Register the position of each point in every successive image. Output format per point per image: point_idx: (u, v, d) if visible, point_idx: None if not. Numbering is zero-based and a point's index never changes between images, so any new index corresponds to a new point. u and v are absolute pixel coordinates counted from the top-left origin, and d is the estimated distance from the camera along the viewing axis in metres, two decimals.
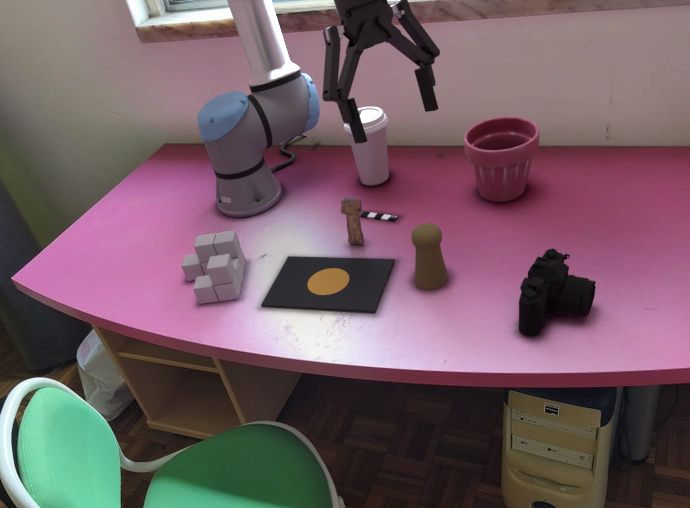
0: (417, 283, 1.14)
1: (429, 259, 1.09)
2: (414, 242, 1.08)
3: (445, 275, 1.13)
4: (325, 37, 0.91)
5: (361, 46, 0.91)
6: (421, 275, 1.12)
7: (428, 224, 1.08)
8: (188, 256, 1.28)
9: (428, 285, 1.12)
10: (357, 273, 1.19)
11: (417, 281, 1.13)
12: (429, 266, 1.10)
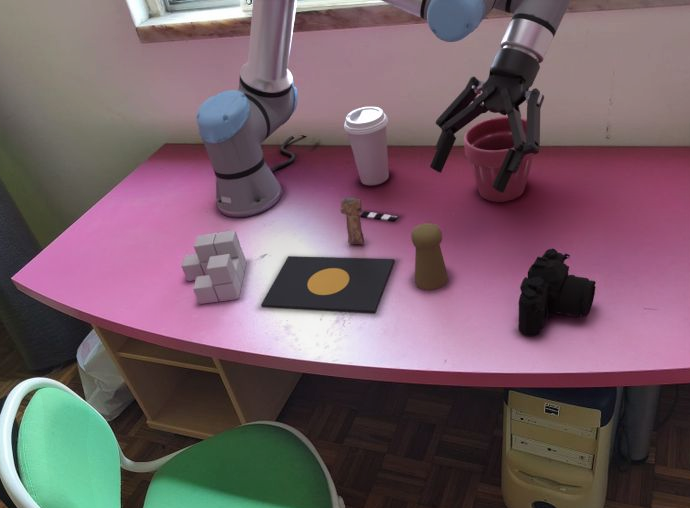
0: (417, 283, 1.14)
1: (429, 259, 1.09)
2: (414, 242, 1.08)
3: (445, 275, 1.13)
4: (537, 96, 1.01)
5: None
6: (421, 275, 1.12)
7: (428, 224, 1.08)
8: (188, 256, 1.28)
9: (428, 285, 1.12)
10: (357, 273, 1.19)
11: (417, 281, 1.13)
12: (429, 266, 1.10)
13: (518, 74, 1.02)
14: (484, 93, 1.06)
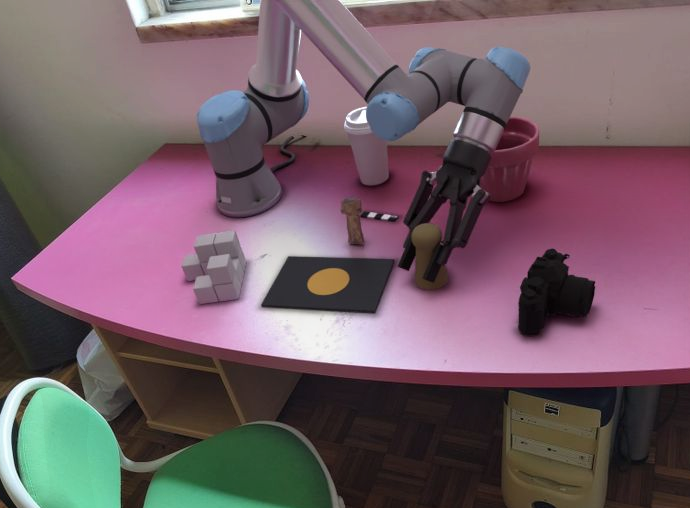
0: (417, 283, 1.14)
1: (429, 259, 1.09)
2: (414, 242, 1.08)
3: (445, 275, 1.13)
4: (481, 197, 1.03)
5: None
6: (420, 275, 1.12)
7: (428, 224, 1.08)
8: (188, 256, 1.28)
9: (428, 285, 1.12)
10: (357, 273, 1.19)
11: (417, 281, 1.13)
12: None
13: (469, 166, 1.03)
14: (439, 184, 1.08)
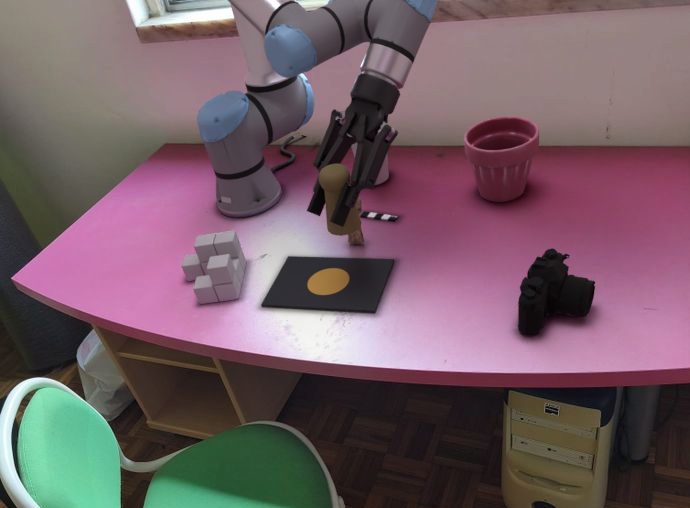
0: (329, 229, 1.09)
1: None
2: (321, 183, 1.03)
3: (357, 220, 1.08)
4: (387, 133, 0.98)
5: None
6: None
7: (336, 164, 1.03)
8: (188, 256, 1.28)
9: (339, 230, 1.07)
10: (357, 273, 1.19)
11: (329, 227, 1.08)
12: None
13: (374, 101, 0.98)
14: (346, 122, 1.03)
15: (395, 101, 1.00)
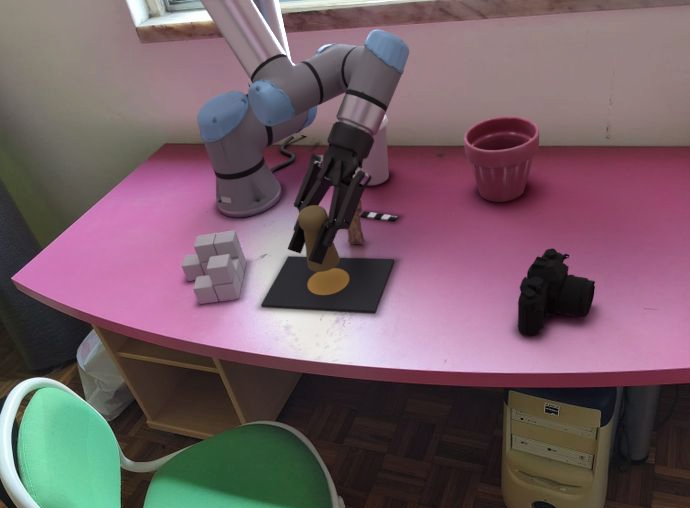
0: (309, 265, 1.15)
1: None
2: (300, 224, 1.09)
3: (335, 257, 1.14)
4: (361, 179, 1.04)
5: None
6: None
7: (314, 206, 1.09)
8: (188, 256, 1.28)
9: (318, 267, 1.13)
10: (357, 273, 1.19)
11: (308, 263, 1.14)
12: None
13: (349, 148, 1.05)
14: (324, 166, 1.09)
15: (369, 147, 1.07)
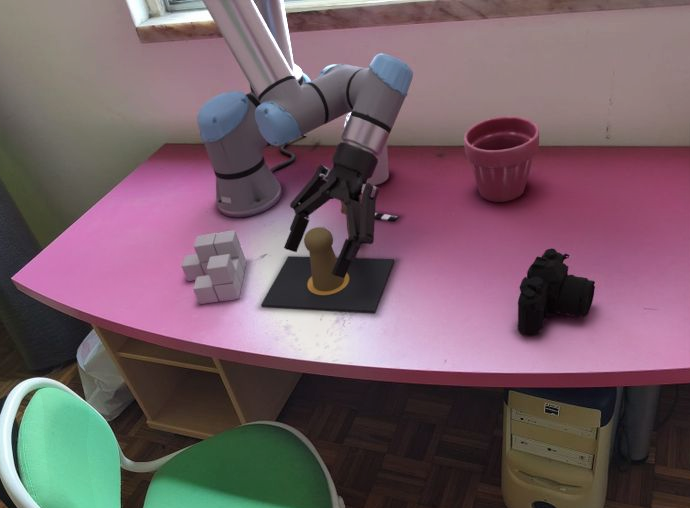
0: (314, 285, 1.18)
1: (321, 261, 1.13)
2: (306, 245, 1.12)
3: (340, 277, 1.17)
4: (370, 190, 1.06)
5: None
6: (316, 277, 1.16)
7: (319, 228, 1.12)
8: (188, 256, 1.28)
9: (323, 287, 1.16)
10: (357, 273, 1.19)
11: (314, 283, 1.18)
12: (322, 268, 1.14)
13: (354, 169, 1.07)
14: (328, 183, 1.12)
15: (373, 168, 1.09)
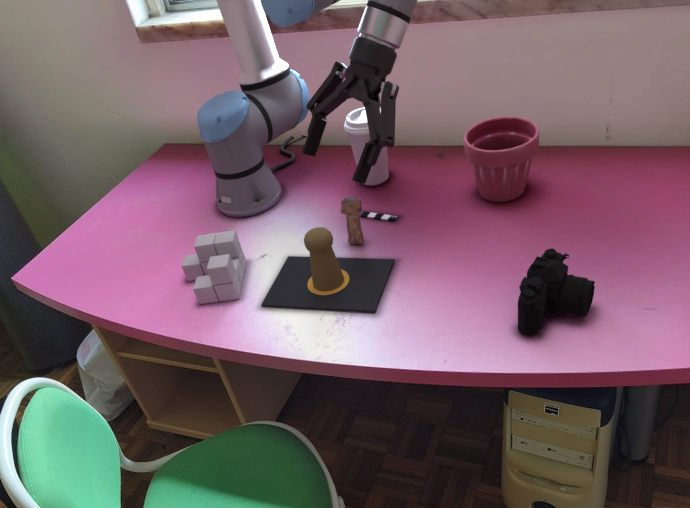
0: (314, 285, 1.18)
1: (321, 261, 1.13)
2: (306, 245, 1.12)
3: (340, 277, 1.17)
4: (390, 89, 1.02)
5: None
6: (316, 277, 1.16)
7: (319, 228, 1.12)
8: (188, 256, 1.28)
9: (323, 287, 1.16)
10: (357, 273, 1.19)
11: (314, 283, 1.18)
12: (322, 268, 1.14)
13: (372, 65, 1.02)
14: (345, 81, 1.07)
15: (392, 63, 1.04)
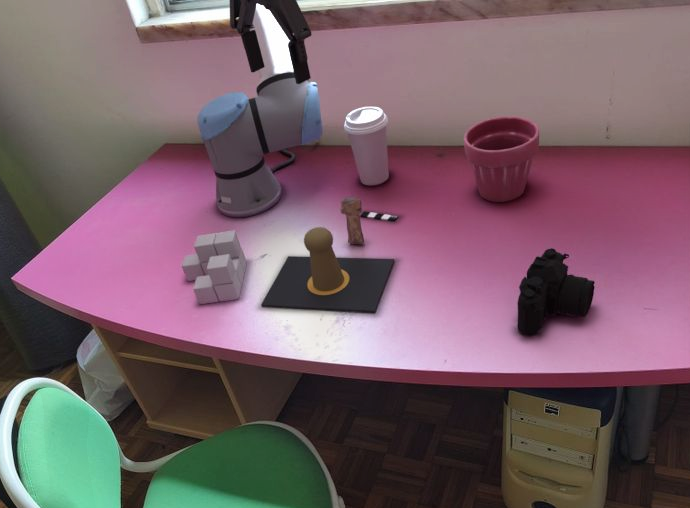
0: (314, 285, 1.18)
1: (321, 261, 1.13)
2: (306, 245, 1.12)
3: (340, 277, 1.17)
4: None
5: None
6: (316, 277, 1.16)
7: (319, 228, 1.12)
8: (188, 256, 1.28)
9: (323, 287, 1.16)
10: (357, 273, 1.19)
11: (314, 283, 1.18)
12: (322, 268, 1.14)
13: None
14: None
15: None
